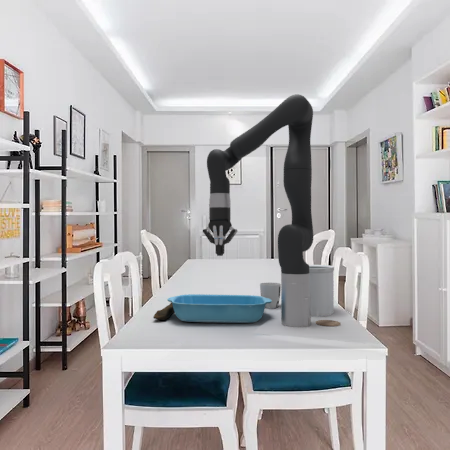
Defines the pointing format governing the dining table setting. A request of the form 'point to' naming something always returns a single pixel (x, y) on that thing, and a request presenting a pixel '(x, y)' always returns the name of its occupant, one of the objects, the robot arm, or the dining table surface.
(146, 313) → the dining table surface
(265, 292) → the cup
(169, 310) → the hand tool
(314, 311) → the utensil holder
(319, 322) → the cork coaster
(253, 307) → the casserole dish
